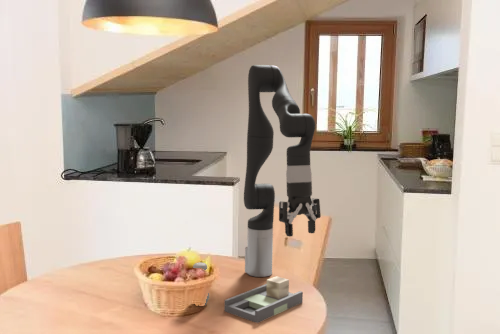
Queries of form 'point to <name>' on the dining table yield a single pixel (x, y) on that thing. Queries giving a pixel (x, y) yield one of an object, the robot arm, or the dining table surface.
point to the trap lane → (260, 304)
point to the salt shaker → (204, 266)
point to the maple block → (277, 287)
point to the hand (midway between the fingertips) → (300, 234)
